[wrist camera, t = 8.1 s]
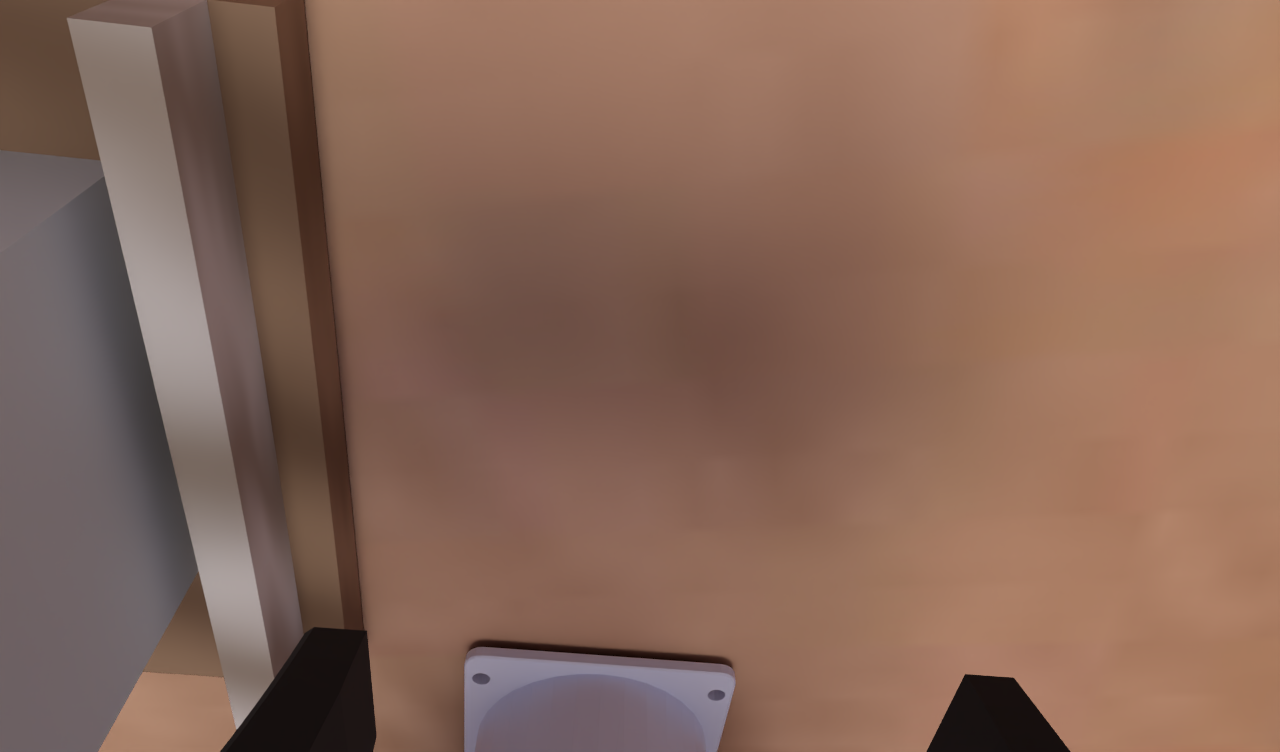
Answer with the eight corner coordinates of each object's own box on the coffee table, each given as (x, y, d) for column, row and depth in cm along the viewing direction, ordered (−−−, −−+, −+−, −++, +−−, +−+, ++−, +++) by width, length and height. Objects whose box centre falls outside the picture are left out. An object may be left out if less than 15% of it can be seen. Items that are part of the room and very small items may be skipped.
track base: (364, 642, 26) (330, 751, 23) (47, 619, 25) (-29, 728, 22) (303, -11, 16) (227, 36, 13) (-224, -73, 15) (-426, -38, 12)
